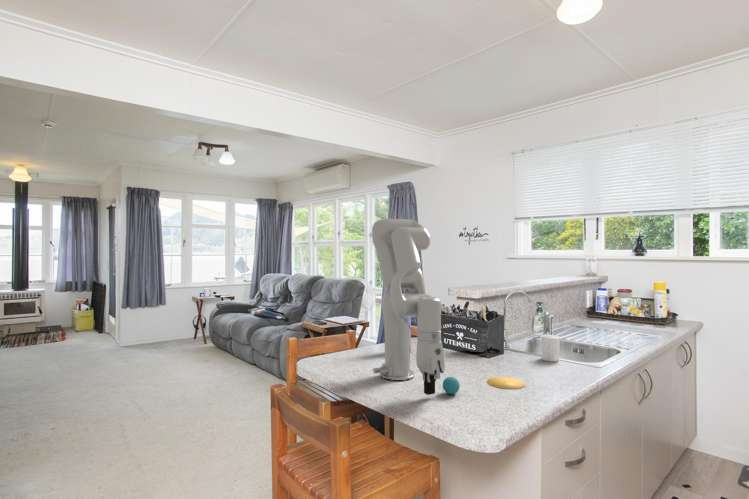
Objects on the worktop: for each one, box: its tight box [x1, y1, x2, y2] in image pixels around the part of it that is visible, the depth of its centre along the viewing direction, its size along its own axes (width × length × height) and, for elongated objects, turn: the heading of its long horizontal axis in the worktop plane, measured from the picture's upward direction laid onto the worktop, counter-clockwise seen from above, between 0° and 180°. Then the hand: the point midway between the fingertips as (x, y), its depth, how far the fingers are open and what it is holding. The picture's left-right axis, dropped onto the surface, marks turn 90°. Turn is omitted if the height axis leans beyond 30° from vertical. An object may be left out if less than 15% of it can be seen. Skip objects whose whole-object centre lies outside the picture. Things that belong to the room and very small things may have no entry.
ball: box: [442, 376, 461, 395], centre depth 136 cm, size 6×6×6 cm
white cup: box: [539, 333, 561, 362], centre depth 178 cm, size 8×8×10 cm
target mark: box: [486, 376, 526, 390], centre depth 147 cm, size 13×13×1 cm
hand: (429, 393), depth 132 cm, fingers closed
